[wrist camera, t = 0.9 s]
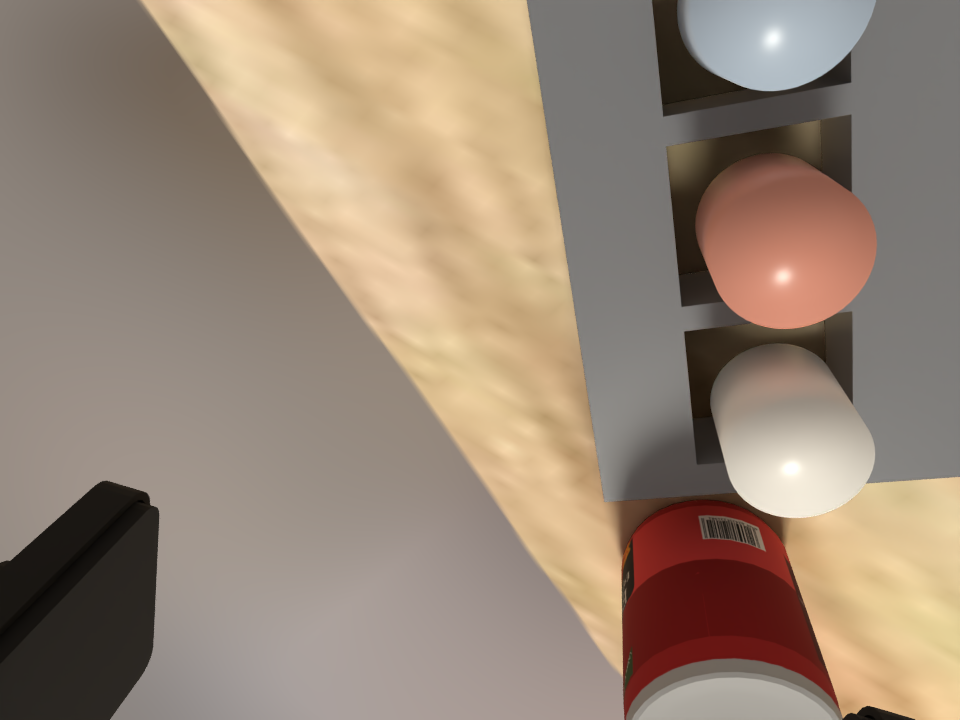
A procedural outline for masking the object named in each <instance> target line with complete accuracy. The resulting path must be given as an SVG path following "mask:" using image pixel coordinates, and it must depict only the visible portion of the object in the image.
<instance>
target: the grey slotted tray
mask: <svg viewBox="0 0 960 720" xmlns="http://www.w3.org/2000/svg"><path fill="white" fill-rule="evenodd" d="M527 4H528V10H529V17H530V23H531V30H532V36H533V43H534V49H535V56H536V62H537V69H538V75H539V82H540V88H541V95H542V101H543V107H544V114H545V120H546V127H547V133H548V140H549V146H550V153H551V159H552V166H553V172H554V179H555V185H556V192H557V198H558V205H559V211H560V218H561V224H562V230H563V237H564V243H565V250H566V256H567V263H568V269H569V276H570V282H571V289H572V295H573V302H574V308H575V315H576V321H577V328H578V334H579V341H580V347H581V354H582V360H583V366H584V373H585V379H586V386H587V392H588V399H589V405H590V412H591V418H592V425H593V431H594V438H595V444H596V451H597V457H598V464H599V470H600V477H601V483H602V490H603V496H604V502H613V501H627V500H641V499H655V498H669V497H683V496H697V495H711V494H725V493H737V491H736V490H735V488H734V487H733V485H732V483H731V481H730V478H729V475H728V472H727V468H726V464H725V460H724V457H723V453H722V449H721V445H720V442H719V438H718V434H717V430H716V427H715V423H714V419H713V417H704V418H693V419H692V410H691V399H690V389H689V379H688V368H687V358H686V348H685V337H684V331H691V330H700V329H708V328H717V327H725V326H733V325H742V324H750V323H752V322H750V321H747V320H745V319H744V318H742V317H741V316H739V315H738V314H736V313H735V312H734V311H733V310H732V309H730V308H729V306H728V305H727V304H726V303H725V302H724V301H723V299H722V298H721V296H720V295H719V293H718V291H717V288H716V286H715V284H714V282H713V279H712V277H711V274H710V272H709V271H702V272H694V273H687V274H680V275H678V265H677V255H676V244H675V234H674V224H673V213H672V203H671V193H670V182H669V172H668V162H667V151H666V146H671V145H677V144H683V143H689V142H695V141H700V140H706V139H712V138H718V137H723V136H729V135H735V134H741V133H746V132H752V131H758V130H764V129H770V128H775V127H781V126H787V125H793V124H798V123H804V122H810V121H816V120H821V151H822V173H824V174H825V175H827V176H828V177H829V178H831V179H832V180H834V181H835V182H837V183H838V184H840V185H841V186H843V187H844V188H846V189H847V190H849V191H850V192H851V193H853V194H854V195H855V196H856V197H857V198H858V199H859V200H860V201H861V202H862V203H863V205H864V206H865V207H866V209H867V211H868V212H869V214H870V216H871V218H872V221H873V223H874V227H875V231H876V239H877V250H876V257H875V262H874V266H873V268H872V271H871V274H870V276H869V278H868V280H867V282H866V283H865V285H864V286H863V288H862V289H861V291H860V292H859V293H858V294H857V296H856V297H855V298H854V299H853V300H852V301H851V302H850V303H849V304H848V305H847V306H845V307H844V308H843V309H842V310H840V311H839V312H837V313H836V314H834V315H833V316H831V317H829V318H827V319H825V353H826V365H827V366H828V367H829V369H830V370H831V372H832V374H833V375H834V377H835V378H836V380H837V381H838V383H839V384H840V386H841V387H842V389H843V391H844V392H845V394H846V395H847V397H848V398H849V400H850V401H851V403H852V405H853V406H854V408H855V409H856V411H857V412H858V414H859V415H860V417H861V418H862V420H863V422H864V423H865V425H866V426H867V428H868V429H869V431H870V433H871V436H872V438H873V442H874V446H875V462H874V466H873V470H872V472H871V475H870V477H869V479H868V480H867V482H866V483H879V482H893V481H907V480H921V479H935V478H949V477H960V0H876V3H875V6H874V9H873V13H872V16H871V18H870V20H869V22H868V25H867V27H866V29H865V30H864V32H863V34H862V35H861V37H860V39H859V40H858V42H857V43H856V44H855V46H854V47H853V48H852V50H851V51H850V52H849V53H848V54H847V55H846V56H845V57H844V58H843V59H842V60H841V61H840V62H839V63H838V64H837V65H836V66H834V67H833V68H832V69H831V70H829V71H828V72H826V73H825V74H823V75H822V76H820V77H818V78H817V79H815V80H813V81H811V82H809V83H806V84H803V85H801V86H798V87H795V88H790V89H786V90H779V91H760V90H754V89H745V90H740V91H734V92H729V93H723V94H718V95H713V96H707V97H702V98H697V99H691V100H686V101H680V102H675V103H670V104H664V105H662V100H661V89H660V79H659V68H658V58H657V48H656V37H655V27H654V17H653V6H652V0H527Z"/></svg>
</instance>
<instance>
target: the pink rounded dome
mask: <svg viewBox="0 0 960 720" xmlns="http://www.w3.org/2000/svg"><path fill="white" fill-rule="evenodd" d="M695 231H696V237H697V241H698V245H699V247H700V250H701V252H702V255H703V257H704V260H705V262H706V265H707V267H708V269H709V272H710V274H711V277H712V279H713V282H714V284H715V286H716V288H717V291H718V293H719V295H720V296H721V298H722V299H723V301H724V302H725V303H726V304H727V305H728V306H729V308H730V309H732V310H733V311H734V312H735V313H736V314H738V315H739V316H741V317H742V318H744V319H745V320H747V321H750V322H752V323H754V324H757V325H760V326H764V327H769V328H775V329H793V328H800V327H805V326H809V325H812V324H816V323H818V322H820V321H823V320H825V319H827V318H829V317H831V316H833V315H834V314H836V313H837V312H839V311H840V310H842V309H843V308H844V307H845V306H847V305H848V304H849V303H850V302H851V301H852V300H853V299H854V298H855V297H856V296H857V294H858V293H859V292H860V291H861V289H862V288H863V286H864V285H865V283H866V282H867V280H868V278H869V276H870V274H871V271H872V268H873V266H874V262H875V257H876V250H877V239H876V231H875V227H874V223H873V221H872V218H871V216H870V214H869V212H868V211H867V209H866V207H865V206H864V205H863V203H862V202H861V201H860V200H859V199H858V198H857V197H856V196H855V195H854V194H853V193H851V192H850V191H849V190H847V189H846V188H844V187H843V186H841V185H840V184H838V183H837V182H835V181H834V180H832V179H831V178H829V177H828V176H827V175H825V174H824V173H822V172H821V171H819V170H818V169H816V168H815V167H813V166H812V165H810V164H809V163H807V162H806V161H804V160H802V159H800V158H797V157H795V156H791V155H788V154H781V153H763V154H757V155H753V156H749V157H747V158H744V159H741V160H739V161H737V162H735V163H733V164H732V165H730V166H729V167H727V168H726V169H724V170H723V171H722V172H721V173H720V174H719V175H717V177H716V178H715V179H714V180H713V181H712V182H711V183H710V185H709V186H708V187H707V189H706V190H705V192H704V194H703V196H702V198H701V200H700V203H699V205H698V209H697V213H696V220H695Z"/></svg>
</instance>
